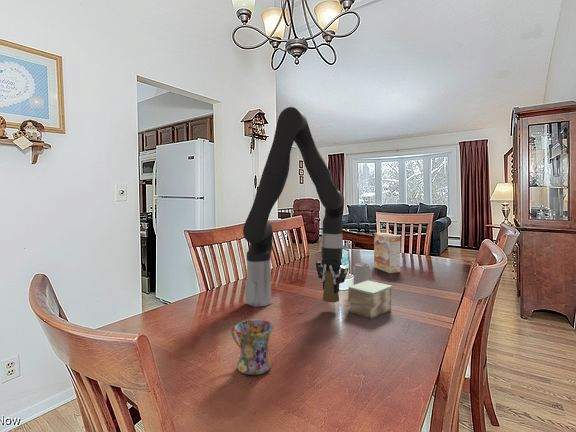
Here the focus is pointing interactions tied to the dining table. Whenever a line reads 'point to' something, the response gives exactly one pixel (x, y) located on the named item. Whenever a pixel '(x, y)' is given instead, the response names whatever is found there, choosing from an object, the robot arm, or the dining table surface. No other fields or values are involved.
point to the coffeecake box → (387, 252)
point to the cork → (329, 288)
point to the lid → (370, 287)
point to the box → (369, 303)
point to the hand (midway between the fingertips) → (330, 292)
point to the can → (361, 273)
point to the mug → (253, 346)
